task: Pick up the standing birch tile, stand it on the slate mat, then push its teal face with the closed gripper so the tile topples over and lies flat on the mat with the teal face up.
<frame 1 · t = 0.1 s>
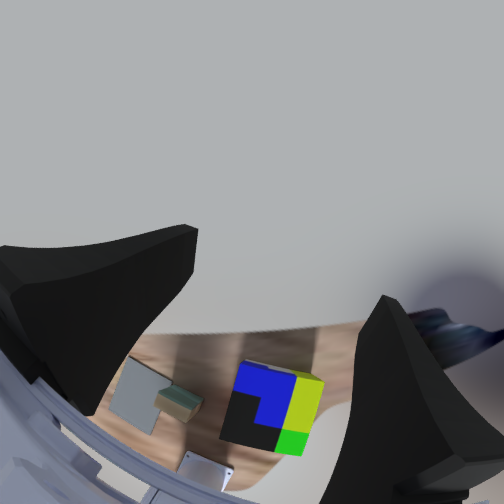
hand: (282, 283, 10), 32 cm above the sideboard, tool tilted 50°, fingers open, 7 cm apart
tile: (186, 398, 37), on the sideboard
mat: (138, 396, 37), on the sideboard
puzzle toy: (270, 397, 37), on the sideboard
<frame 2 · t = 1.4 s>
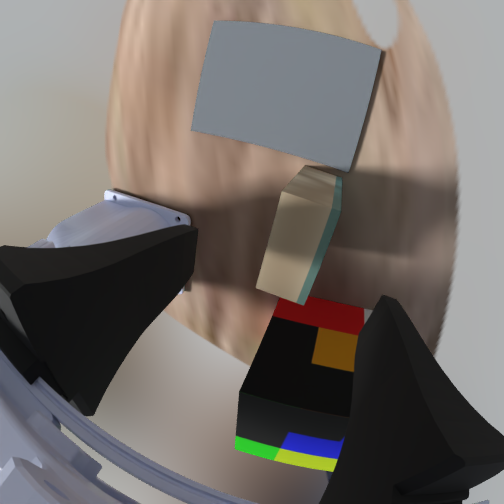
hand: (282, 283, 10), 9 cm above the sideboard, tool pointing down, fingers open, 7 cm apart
tile: (312, 206, 18), on the sideboard
mat: (280, 85, 15), on the sideboard
puzzle toy: (328, 344, 23), on the sideboard
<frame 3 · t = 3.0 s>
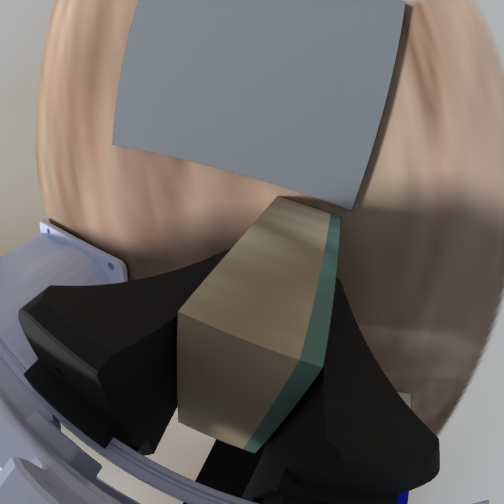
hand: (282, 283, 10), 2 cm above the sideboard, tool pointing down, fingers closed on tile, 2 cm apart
tile: (291, 261, 11), on the sideboard, touching gripper
mat: (235, 62, 8), on the sideboard
puzzle toy: (315, 416, 17), on the sideboard
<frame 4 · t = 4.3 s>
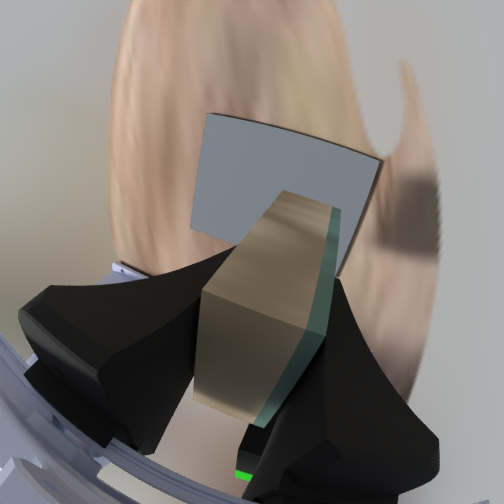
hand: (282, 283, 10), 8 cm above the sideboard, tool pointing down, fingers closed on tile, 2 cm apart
tile: (295, 250, 12), point 6 cm above the sideboard, touching gripper
mat: (274, 195, 17), on the sideboard
puzzle toy: (314, 394, 26), on the sideboard
when the fingers open (2 cm above the sideboard, at t = 5.6 s): tile stays where it is, resting on mat.
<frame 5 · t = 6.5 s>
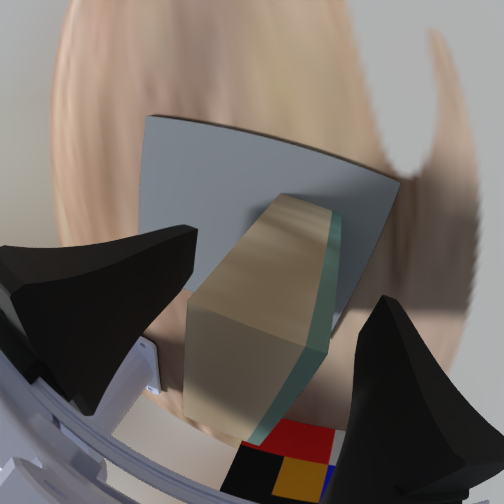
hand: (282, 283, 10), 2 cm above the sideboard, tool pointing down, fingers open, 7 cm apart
tile: (293, 257, 12), resting on mat
mat: (241, 231, 12), on the sideboard
puzzle toy: (302, 443, 20), on the sideboard
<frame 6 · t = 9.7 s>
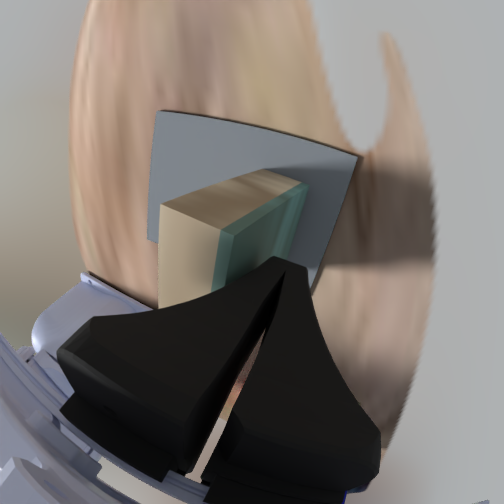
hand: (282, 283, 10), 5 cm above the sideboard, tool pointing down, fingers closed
tile: (273, 222, 14), resting on mat, tilted 8°
mat: (232, 201, 15), on the sideboard
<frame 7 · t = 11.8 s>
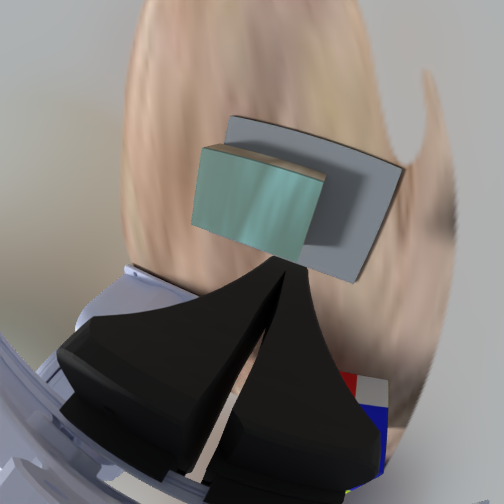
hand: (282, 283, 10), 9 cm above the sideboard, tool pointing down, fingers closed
tile: (312, 217, 16), point 2 cm above the sideboard, tilted 90°, touching mat
mat: (297, 200, 17), on the sideboard
puzzle toy: (326, 396, 25), on the sideboard
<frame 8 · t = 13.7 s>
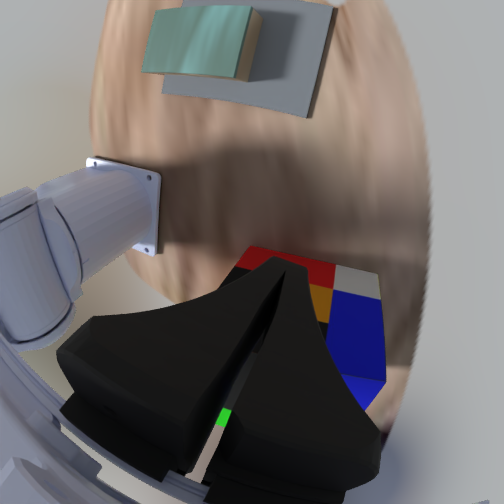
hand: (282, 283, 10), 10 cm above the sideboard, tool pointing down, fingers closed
tile: (249, 45, 13), point 2 cm above the sideboard, tilted 90°, touching mat
mat: (240, 45, 14), on the sideboard
puzzle toy: (303, 308, 23), on the sideboard
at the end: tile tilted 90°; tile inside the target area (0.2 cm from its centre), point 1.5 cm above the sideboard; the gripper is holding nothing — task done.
